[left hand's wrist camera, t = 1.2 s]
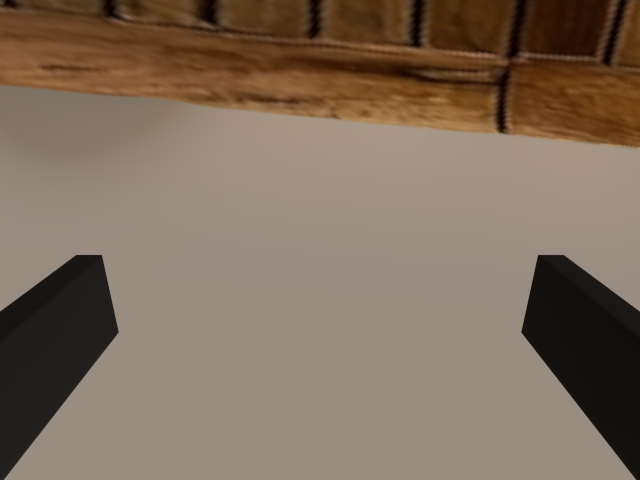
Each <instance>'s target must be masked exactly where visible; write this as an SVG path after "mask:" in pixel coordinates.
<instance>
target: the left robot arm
mask: <svg viewBox="0 0 640 480" xmlns="http://www.w3.org/2000/svg"><path fill="white" fill-rule="evenodd" d="M117 334H118V327H117V323H116V318H115V314H114V309H113V304H112V300H111V295H110V290H109V286H108V281H107V277H106V272H105V268H104V263H103V259H102V255H76V256H75V257H73V258H72V259H70V260H69V261H68V262H66V263H65V264H64V265H62V266H61V267H60V268H58V269H57V270H56V271H54V272H53V273H52V274H50V275H49V276H48V277H46V278H45V279H44V280H42V281H41V282H40V283H38V284H37V285H35V286H34V287H33V288H31V289H30V290H29V291H27V292H26V293H25V294H23V295H22V296H21V297H19V298H18V299H17V300H15V301H14V302H12V303H11V304H10V305H8V306H7V307H6V308H4V309H3V310H2V311H0V480H4V479H5V477H6V476H7V475H8V473H9V472H10V471H11V470H12V468H13V467H14V466H15V465H16V463H17V462H18V461H19V459H20V458H21V457H22V456H23V454H24V453H25V452H26V450H27V449H28V448H29V447H30V445H31V444H32V443H33V442H34V440H35V439H36V438H37V436H38V435H39V434H40V433H41V431H42V430H43V429H44V427H45V426H46V425H47V424H48V422H49V421H50V420H51V418H52V417H53V416H54V415H55V413H56V412H57V411H58V409H59V408H60V407H61V406H62V404H63V403H64V402H65V400H66V399H67V398H68V397H69V395H70V394H71V393H72V391H73V390H74V389H75V388H76V386H77V385H78V384H79V383H80V381H81V380H82V379H83V377H84V376H85V375H86V374H87V372H88V371H89V370H90V368H91V367H92V366H93V365H94V363H95V362H96V361H97V359H98V358H99V357H100V356H101V354H102V353H103V352H104V350H105V349H106V348H107V347H108V345H109V344H110V343H111V342H112V340H113V339H114V338H115V336H116V335H117ZM522 334H523V335H524V336H525V338H526V339H527V340H528V342H529V343H530V344H531V345H532V347H533V348H534V349H535V350H536V352H537V353H538V354H539V356H540V357H541V358H542V359H543V361H544V362H545V363H546V365H547V366H548V367H549V368H550V370H551V371H552V372H553V374H554V375H555V376H556V377H557V379H558V380H559V381H560V383H561V384H562V385H563V386H564V388H565V389H566V390H567V391H568V393H569V394H570V395H571V397H572V398H573V399H574V400H575V402H576V403H577V404H578V406H579V407H580V408H581V409H582V411H583V412H584V413H585V414H586V416H587V417H588V418H589V420H590V421H591V422H592V424H593V425H594V426H595V427H596V429H597V430H598V431H599V433H600V434H601V435H602V436H603V438H604V439H605V440H606V442H607V443H608V444H609V445H610V447H611V448H612V449H613V450H614V452H615V453H616V454H617V456H618V457H619V458H620V459H621V461H622V462H623V463H624V465H625V466H626V467H627V468H628V470H629V471H630V472H631V473H632V475H633V476H634V477H635V479H636V480H640V311H638V310H637V309H635V308H634V307H633V306H632V305H630V304H629V303H628V302H626V301H625V300H623V299H622V298H621V297H619V296H618V295H617V294H615V293H614V292H613V291H611V290H610V289H609V288H607V287H606V286H605V285H603V284H602V283H601V282H599V281H598V280H597V279H595V278H594V277H592V276H591V275H590V274H588V273H587V272H586V271H584V270H583V269H582V268H580V267H579V266H578V265H576V264H575V263H574V262H572V261H571V260H570V259H568V258H567V257H566V256H564V255H538V258H537V263H536V267H535V272H534V277H533V281H532V286H531V290H530V295H529V300H528V304H527V309H526V313H525V318H524V323H523V327H522Z"/></svg>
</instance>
